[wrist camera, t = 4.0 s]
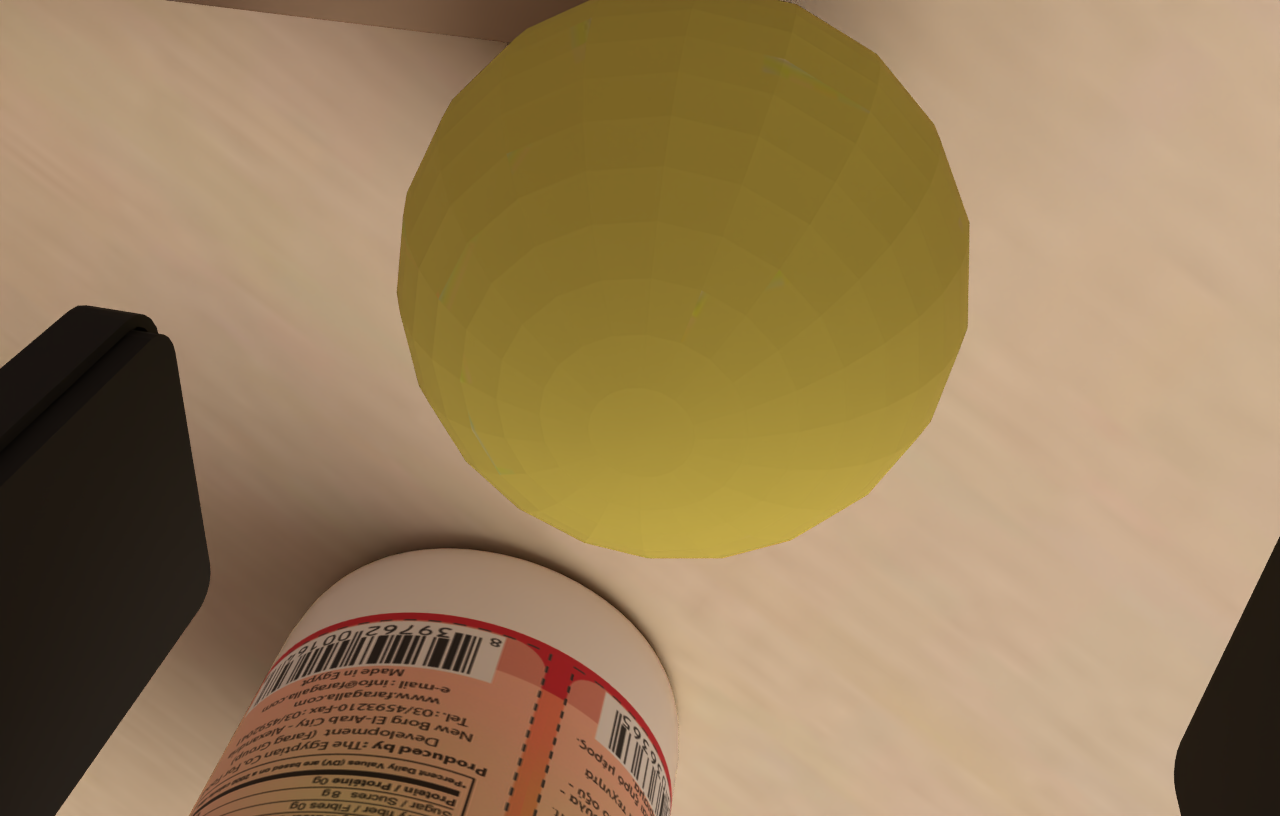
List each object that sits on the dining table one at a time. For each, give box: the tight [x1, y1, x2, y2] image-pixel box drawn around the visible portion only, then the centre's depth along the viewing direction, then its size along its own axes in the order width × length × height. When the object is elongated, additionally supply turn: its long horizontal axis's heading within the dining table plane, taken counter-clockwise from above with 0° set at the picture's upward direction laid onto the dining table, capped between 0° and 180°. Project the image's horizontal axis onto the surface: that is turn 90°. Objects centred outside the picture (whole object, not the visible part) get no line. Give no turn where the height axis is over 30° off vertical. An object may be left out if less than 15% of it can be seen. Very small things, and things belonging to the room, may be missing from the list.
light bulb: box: [397, 0, 969, 558], centre depth 16 cm, size 7×7×10 cm
